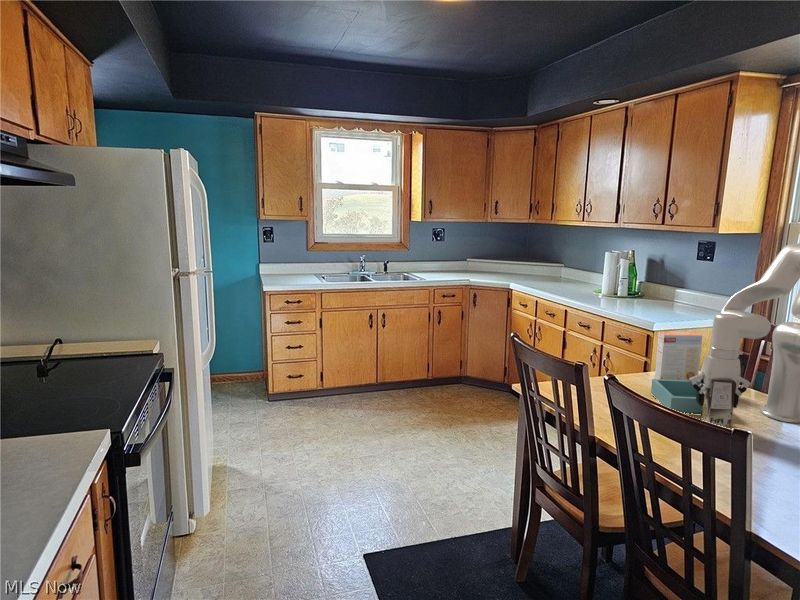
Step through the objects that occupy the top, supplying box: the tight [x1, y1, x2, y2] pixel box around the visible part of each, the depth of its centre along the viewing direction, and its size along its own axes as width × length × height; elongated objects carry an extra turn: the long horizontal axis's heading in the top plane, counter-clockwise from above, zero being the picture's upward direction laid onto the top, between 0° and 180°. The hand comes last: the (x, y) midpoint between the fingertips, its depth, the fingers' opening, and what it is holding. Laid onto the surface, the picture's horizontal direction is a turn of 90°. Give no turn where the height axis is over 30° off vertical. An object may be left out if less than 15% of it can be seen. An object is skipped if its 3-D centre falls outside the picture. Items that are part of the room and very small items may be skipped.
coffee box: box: [700, 380, 737, 428], centre depth 156 cm, size 9×6×16 cm
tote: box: [650, 378, 702, 414], centre depth 173 cm, size 18×18×6 cm
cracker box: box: [654, 331, 703, 381], centre depth 191 cm, size 14×6×21 cm, turn 84°
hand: (716, 405), depth 156 cm, fingers open, 9 cm apart
